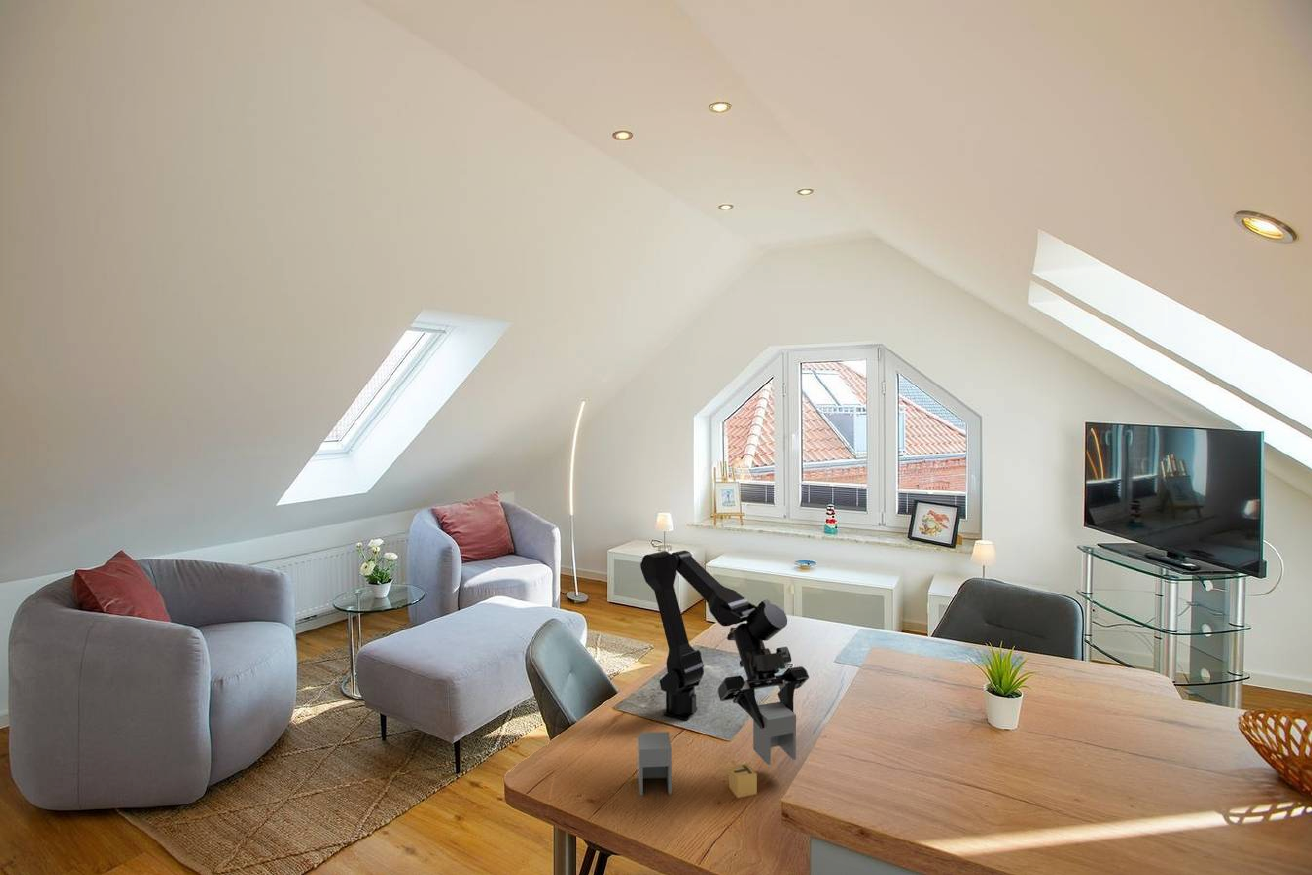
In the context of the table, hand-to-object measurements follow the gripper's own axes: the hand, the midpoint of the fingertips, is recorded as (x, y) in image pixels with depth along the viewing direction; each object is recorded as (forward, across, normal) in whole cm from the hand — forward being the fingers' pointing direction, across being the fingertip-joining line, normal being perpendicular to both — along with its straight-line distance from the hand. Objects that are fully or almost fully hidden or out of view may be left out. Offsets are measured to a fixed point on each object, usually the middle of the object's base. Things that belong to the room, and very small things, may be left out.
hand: (777, 725), depth 129 cm
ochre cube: (+9, -8, +6) cm, 14 cm away
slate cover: (+4, -24, +12) cm, 27 cm away
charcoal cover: (+4, 0, +6) cm, 7 cm away
